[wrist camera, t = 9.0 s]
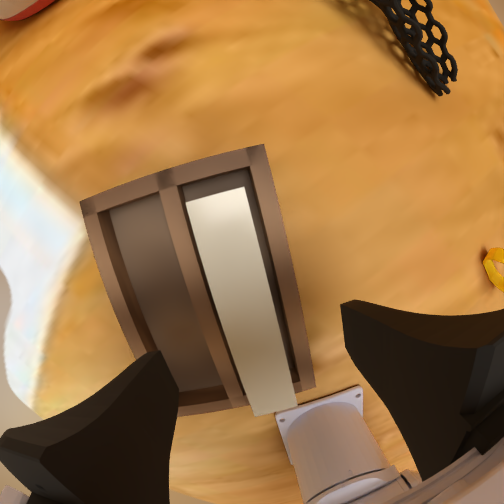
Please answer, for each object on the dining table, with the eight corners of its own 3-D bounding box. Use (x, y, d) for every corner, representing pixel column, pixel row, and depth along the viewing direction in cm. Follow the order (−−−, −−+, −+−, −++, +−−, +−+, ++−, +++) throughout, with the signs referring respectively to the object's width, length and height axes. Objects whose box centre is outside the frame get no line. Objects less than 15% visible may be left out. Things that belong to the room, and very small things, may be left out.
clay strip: (282, 360, 19) (297, 406, 14) (248, 369, 18) (255, 416, 14) (239, 189, 16) (244, 186, 11) (198, 200, 16) (185, 202, 11)
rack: (306, 365, 20) (316, 387, 17) (173, 395, 20) (168, 417, 17) (258, 152, 17) (263, 143, 14) (99, 200, 16) (79, 201, 13)
